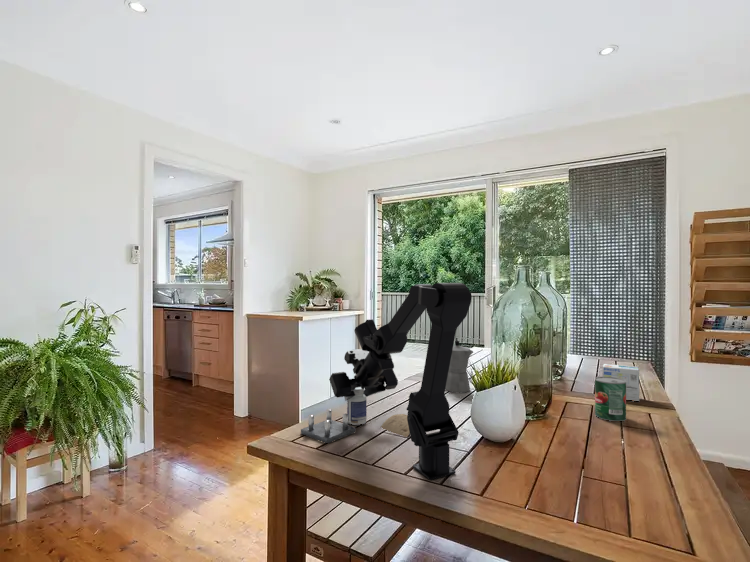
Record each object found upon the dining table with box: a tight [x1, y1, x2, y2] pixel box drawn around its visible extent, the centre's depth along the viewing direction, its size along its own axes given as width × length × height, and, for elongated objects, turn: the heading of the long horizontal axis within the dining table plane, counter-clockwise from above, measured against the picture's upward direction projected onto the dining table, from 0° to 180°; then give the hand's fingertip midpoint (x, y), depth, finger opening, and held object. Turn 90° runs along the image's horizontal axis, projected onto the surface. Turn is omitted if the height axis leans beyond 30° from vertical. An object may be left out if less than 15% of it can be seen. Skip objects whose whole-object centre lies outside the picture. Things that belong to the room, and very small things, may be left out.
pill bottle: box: [346, 387, 368, 426], centre depth 113 cm, size 5×5×10 cm
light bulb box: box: [602, 363, 641, 402], centre depth 137 cm, size 11×7×11 cm, turn 58°
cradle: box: [300, 408, 357, 444], centre depth 104 cm, size 10×10×5 cm
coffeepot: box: [445, 340, 474, 394], centre depth 148 cm, size 15×9×18 cm, turn 44°
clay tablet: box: [380, 413, 410, 438], centre depth 110 cm, size 14×10×3 cm
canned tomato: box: [594, 376, 627, 422], centre depth 117 cm, size 8×8×11 cm
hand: (354, 397), depth 114 cm, fingers closed on pill bottle, 5 cm apart
